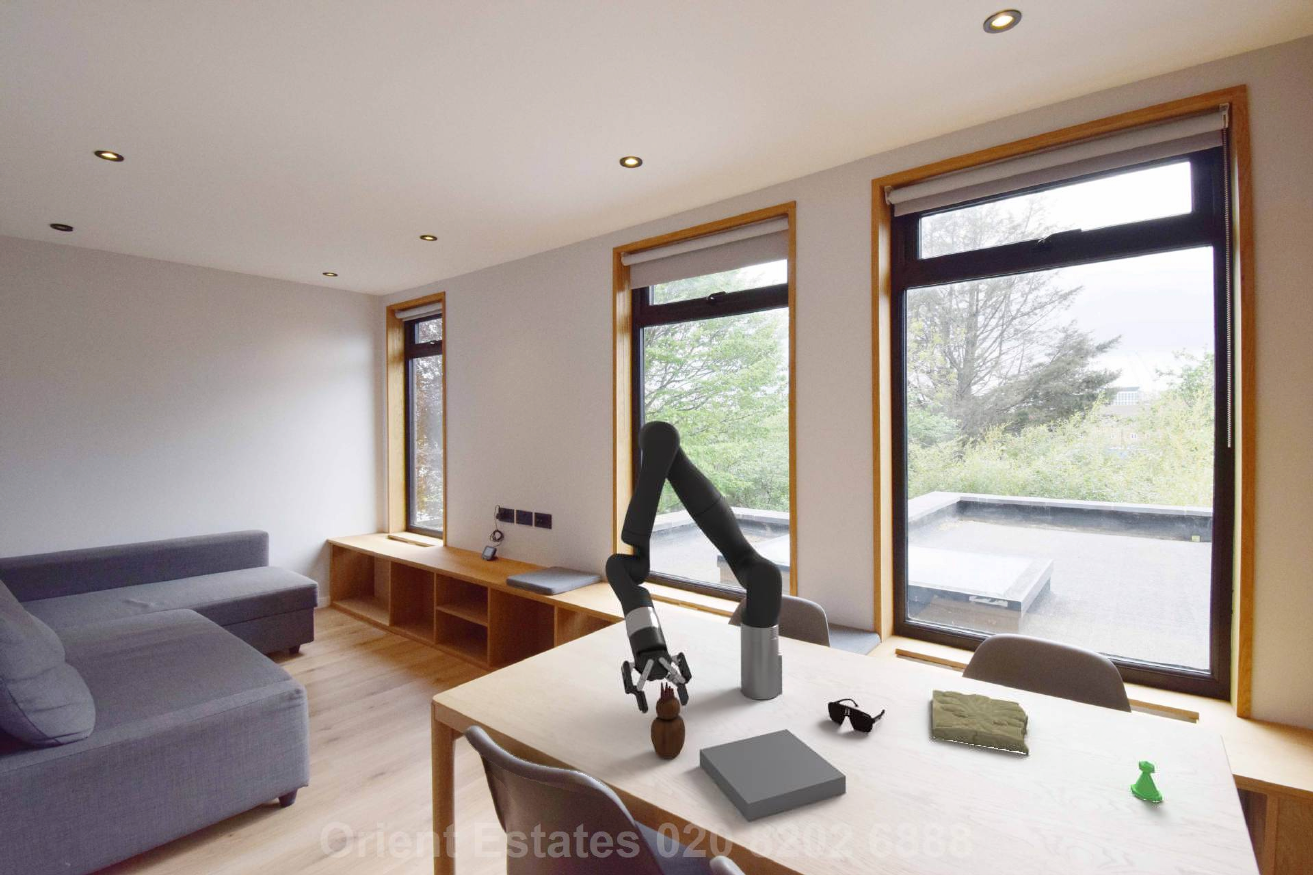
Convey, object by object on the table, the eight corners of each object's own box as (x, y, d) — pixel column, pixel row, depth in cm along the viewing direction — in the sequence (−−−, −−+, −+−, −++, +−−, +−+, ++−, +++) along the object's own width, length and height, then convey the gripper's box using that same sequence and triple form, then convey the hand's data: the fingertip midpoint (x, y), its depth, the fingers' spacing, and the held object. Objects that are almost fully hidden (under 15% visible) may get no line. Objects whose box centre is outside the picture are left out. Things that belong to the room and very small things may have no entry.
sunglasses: (823, 721, 131) (824, 698, 131) (847, 710, 139) (848, 688, 140) (869, 738, 123) (870, 713, 124) (892, 725, 132) (893, 702, 133)
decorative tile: (932, 740, 123) (932, 723, 123) (932, 700, 142) (932, 685, 141) (1037, 760, 115) (1037, 742, 115) (1023, 715, 134) (1023, 699, 134)
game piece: (1124, 786, 106) (1124, 753, 106) (1150, 788, 105) (1150, 754, 105) (1141, 801, 102) (1141, 767, 102) (1168, 803, 101) (1168, 768, 101)
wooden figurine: (660, 765, 114) (659, 688, 114) (646, 751, 119) (646, 677, 119) (690, 756, 117) (689, 681, 117) (676, 742, 122) (675, 670, 122)
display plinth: (786, 743, 122) (786, 728, 121) (845, 792, 105) (845, 775, 105) (699, 764, 114) (699, 749, 114) (748, 821, 97) (748, 803, 97)
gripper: (618, 629, 124) (636, 707, 113) (679, 620, 129) (703, 694, 119) (610, 645, 129) (627, 721, 118) (670, 637, 134) (692, 709, 124)
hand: (665, 708), depth 119 cm, fingers open, 8 cm apart
